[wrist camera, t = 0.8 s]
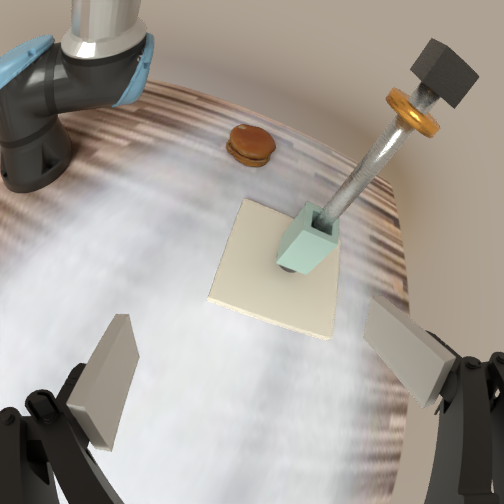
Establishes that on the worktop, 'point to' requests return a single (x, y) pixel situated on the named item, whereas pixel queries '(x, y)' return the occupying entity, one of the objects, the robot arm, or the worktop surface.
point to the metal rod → (404, 122)
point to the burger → (250, 145)
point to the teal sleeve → (306, 241)
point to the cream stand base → (274, 277)
